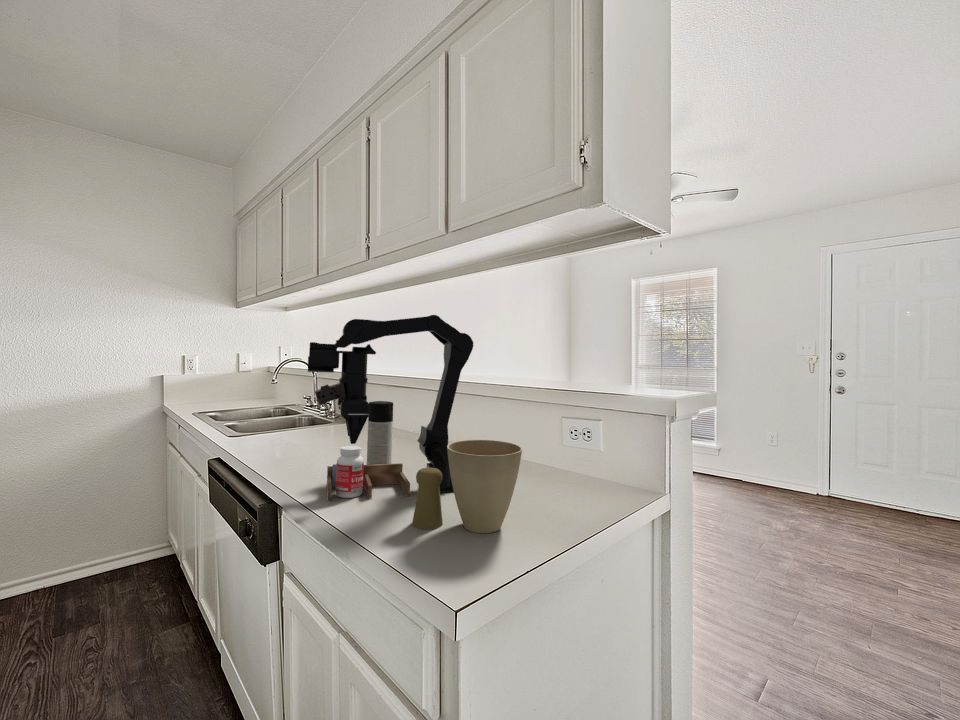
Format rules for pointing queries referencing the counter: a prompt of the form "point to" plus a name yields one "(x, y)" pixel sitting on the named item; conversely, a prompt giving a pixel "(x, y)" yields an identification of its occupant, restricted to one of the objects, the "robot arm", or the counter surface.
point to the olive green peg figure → (428, 499)
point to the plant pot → (483, 481)
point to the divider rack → (373, 477)
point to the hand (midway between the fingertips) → (351, 439)
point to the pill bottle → (349, 472)
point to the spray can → (380, 433)
